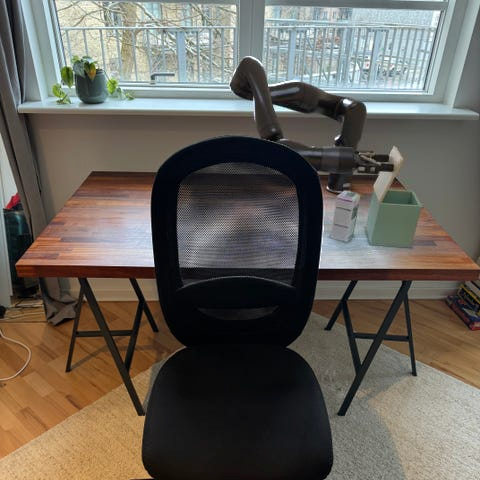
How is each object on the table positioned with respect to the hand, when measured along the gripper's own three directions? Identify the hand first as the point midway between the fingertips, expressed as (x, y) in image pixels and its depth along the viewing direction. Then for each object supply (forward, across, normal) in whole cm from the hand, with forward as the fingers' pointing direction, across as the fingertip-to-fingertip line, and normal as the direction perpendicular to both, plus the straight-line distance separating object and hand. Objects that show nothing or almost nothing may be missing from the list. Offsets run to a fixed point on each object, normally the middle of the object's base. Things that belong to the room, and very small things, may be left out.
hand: (391, 163), depth 135 cm
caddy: (+4, 0, -24) cm, 24 cm away
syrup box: (-11, +2, -24) cm, 27 cm away
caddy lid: (0, 0, -3) cm, 3 cm away
